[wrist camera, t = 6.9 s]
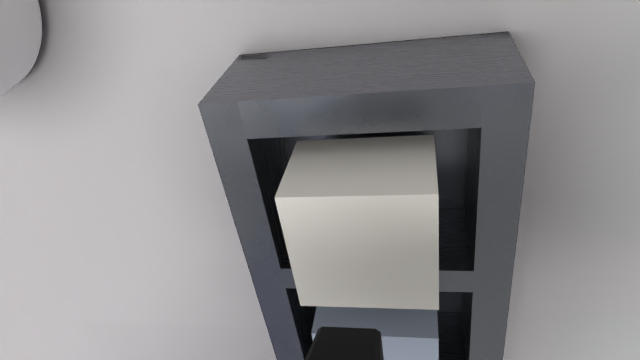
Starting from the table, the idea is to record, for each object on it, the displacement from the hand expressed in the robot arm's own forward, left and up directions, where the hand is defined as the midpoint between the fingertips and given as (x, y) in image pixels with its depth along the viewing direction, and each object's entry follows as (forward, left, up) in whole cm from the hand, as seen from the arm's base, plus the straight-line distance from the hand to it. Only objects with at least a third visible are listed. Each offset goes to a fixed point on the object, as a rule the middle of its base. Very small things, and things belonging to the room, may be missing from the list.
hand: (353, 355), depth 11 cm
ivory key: (0, 0, -6) cm, 6 cm away
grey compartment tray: (-6, 0, -9) cm, 11 cm away
